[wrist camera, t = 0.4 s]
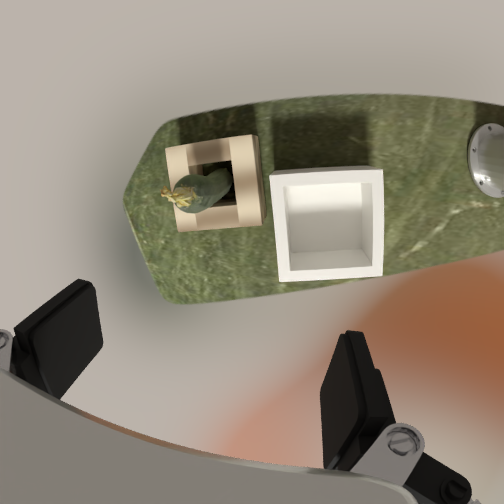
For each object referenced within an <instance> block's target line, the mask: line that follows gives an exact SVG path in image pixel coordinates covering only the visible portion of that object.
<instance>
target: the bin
mask: <svg viewBox="0 0 504 504" xmlns="http://www.w3.org/2000/svg"><path fill="white" fill-rule="evenodd" d="M269 177H270V187H271V197H272V206H273V217H274V227H275V237H276V248H277V259H278V270H279V282H288V281H308V280H326V279H343V278H358V277H373V276H382V272H383V249H384V188H383V170H382V169H379V168H375V167H372V166H340V167H320V168H303V169H290V170H277V171H274V172H273V173H272V174H270V175H269Z"/></svg>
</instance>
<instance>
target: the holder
mask: <svg viewBox="0 0 504 504" xmlns="http://www.w3.org/2000/svg"><path fill="white" fill-rule="evenodd" d="M165 150H166V158H167V165H168V172H169V179H170V186H171V192H173V189H174V187H175V184H176V183H177V182H178V181H179V180H180V179H181V178H183V177H184V176H186V175H190V174H197V175H202V176H203V168H202V164H206V163H213V162H220V161H228V160H231V161H232V169H233V177H234V185H235V193H236V198H235V199H225V200H218V201H217V202H216V203H214V204H213V205H212V206H211V207H209V208H207V209H205V210H203V211H201V212H199V213H195V214H194V213H186V212H183V211H181V210H180V209H179V208H178V207H177V206H176V205H175V204H174V202H173V204H174V210H175V216H176V222H177V228H178V232H184V231H196V230H208V229H220V228H233V227H246V226H260V225H262V224H263V222H264V220H265V218H266V216H267V214H266V204H265V195H264V186H263V177H262V167H261V159H260V150H259V141H258V136H255V135H244V136H236V137H229V138H222V139H215V140H209V141H203V142H197V143H191V144H185V145H180V146H175V147H170V148H165Z"/></svg>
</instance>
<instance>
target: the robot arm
mask: <svg viewBox="0 0 504 504" xmlns="http://www.w3.org/2000/svg"><path fill="white" fill-rule="evenodd" d="M468 165H469V170H470V174H471V176H472V179H473V181H474V182H475V184H476V186H477V187H478V188H479V189H480V190H481V191H482V192H483V193H485V194H486V195H489V196H491V197H503V196H504V127H502V126H500V125H498V124H494V123H489V124H484V125H482V126H480V127H479V128H478V129H476V131H475V132H474V133H473V135H472V137H471V139H470V143H469V146H468ZM14 332H15V336H14V337H12V335H11V333H10V332H8V331H7V330H3V329H0V504H481V503H480V502H479V501H478V500H477V499H476V500H475V501H473V500H472V499H471V495H472V489H471V486H470V483H469V482H468V480H467V479H466V478H465V477H463V476H462V475H460V474H459V473H457V472H455V471H453V470H452V469H450V468H448V467H447V466H445V465H443V464H442V463H440V462H439V461H437V460H435V459H433V458H432V457H430V456H429V455H427V454H426V453H424V452H423V450H424V447H425V442H424V438H423V436H422V435H421V433H420V432H419V431H418V430H417V429H416V428H414V427H413V426H410V425H408V424H404V423H396V421H395V418H394V414H393V411H392V407H391V404H390V400H389V397H388V394H387V391H386V388H385V385H384V381H383V378H382V375H381V372H380V370H379V369H375V368H374V365H373V361H372V358H371V355H370V352H369V349H368V346H367V343H366V340H365V337H364V334H363V332H359V331H350V330H347V331H346V333H345V334H340V336H339V339H338V342H337V345H336V348H335V351H334V354H333V356H332V359H331V362H330V365H329V368H328V370H327V373H326V376H325V379H324V381H323V384H322V386H321V391H320V405H321V421H322V441H323V465H324V469H320V468H319V469H318V468H309V467H298V466H288V465H278V464H272V463H264V462H258V461H251V460H244V459H239V458H233V457H228V456H223V455H218V454H213V453H209V452H204V451H200V450H195V449H192V448H188V447H184V446H180V445H176V444H173V443H169V442H166V441H163V440H159V439H156V438H153V437H150V436H146V435H144V434H141V433H138V432H135V431H132V430H129V429H127V428H124V427H121V426H118V425H116V424H113V423H111V422H108V421H106V420H103V419H101V418H98V417H96V416H94V415H91V414H89V413H87V412H84V411H82V410H80V409H78V408H76V407H74V406H71V405H69V404H67V403H65V402H63V401H61V400H60V399H61V397H62V396H63V395H64V394H65V393H66V391H67V390H68V389H69V388H70V386H71V385H72V384H73V383H74V381H75V380H76V379H77V378H78V376H79V375H80V374H81V373H82V371H83V370H84V369H85V368H86V367H87V365H88V364H89V363H90V362H91V361H92V359H93V358H94V357H95V356H96V355H97V353H98V352H99V351H100V349H101V348H102V346H103V337H102V332H101V325H100V319H99V312H98V305H97V297H96V290H95V287H94V286H93V285H92V283H91V282H89V281H85V280H82V279H77V280H76V281H74V282H73V283H71V284H70V285H69V286H67V287H66V288H65V289H63V290H62V291H61V292H59V293H58V294H57V295H55V296H54V297H53V298H51V299H50V300H49V301H47V302H46V303H45V304H43V305H42V306H41V307H39V308H38V309H37V310H36V311H34V312H33V313H32V314H30V315H29V316H28V317H27V318H26V319H24V320H23V321H22V322H20V323H19V324H18V325H17V326H16V327H14Z"/></svg>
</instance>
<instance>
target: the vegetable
mask: <svg viewBox="0 0 504 504" xmlns="http://www.w3.org/2000/svg"><path fill="white" fill-rule="evenodd" d="M232 181H233V177H232V176H231V173H230V172H229V171H227V168H224V169H217V170H215V171H214V172H212V173H211V174H209V175H208V176H202V175H197V174H190V175H186V176H184V177H183V178H181V179H180V180H179V181H178V182H177V183H176V184H175V187H174V189H173V192H171V191H170V190H168V189H167V187H166V186H164V187H163V190H161V196H166V197H167V198H168V200H169V201H172V202H174V204H175V205H176V206H177V207H178V208H179V209H180V210H181V211H183V212H186V213H194V214H195V213H199V212H201V211H203V210H205V209H207V208H209V207H211V206H212V205H213V204H214V203H216V202H217V201H218V200H219V199H221V198H222V197H223V196H224V195H225V194H226V193H227V192H228V191H229V189H230V187H231V184H232Z"/></svg>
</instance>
